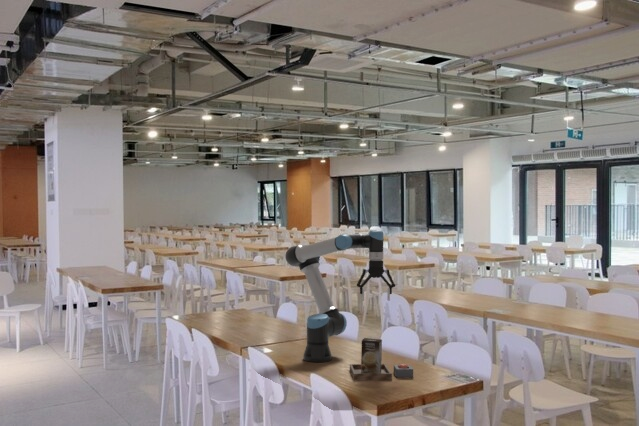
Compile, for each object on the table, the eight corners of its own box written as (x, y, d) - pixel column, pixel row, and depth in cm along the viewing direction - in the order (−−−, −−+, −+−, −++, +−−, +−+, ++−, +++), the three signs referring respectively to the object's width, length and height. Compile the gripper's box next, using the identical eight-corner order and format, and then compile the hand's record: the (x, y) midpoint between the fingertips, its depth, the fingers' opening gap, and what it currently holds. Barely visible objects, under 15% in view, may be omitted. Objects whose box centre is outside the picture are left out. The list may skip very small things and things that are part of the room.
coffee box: (360, 373, 284) (360, 340, 284) (363, 370, 290) (364, 337, 290) (379, 375, 281) (379, 341, 281) (381, 372, 287) (382, 339, 287)
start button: (400, 372, 283) (400, 366, 283) (398, 370, 287) (398, 363, 287) (408, 372, 284) (408, 365, 284) (406, 370, 288) (406, 363, 288)
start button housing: (396, 377, 281) (396, 369, 281) (393, 373, 289) (393, 365, 289) (413, 377, 282) (413, 369, 282) (409, 373, 290) (409, 364, 290)
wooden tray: (353, 380, 276) (353, 373, 276) (349, 370, 294) (349, 364, 294) (391, 379, 277) (391, 373, 277) (385, 370, 295) (385, 364, 295)
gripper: (353, 260, 306) (352, 301, 306) (400, 260, 307) (400, 301, 307) (351, 259, 313) (351, 299, 313) (398, 259, 315) (397, 299, 314)
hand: (375, 300), depth 310 cm, fingers open, 13 cm apart
